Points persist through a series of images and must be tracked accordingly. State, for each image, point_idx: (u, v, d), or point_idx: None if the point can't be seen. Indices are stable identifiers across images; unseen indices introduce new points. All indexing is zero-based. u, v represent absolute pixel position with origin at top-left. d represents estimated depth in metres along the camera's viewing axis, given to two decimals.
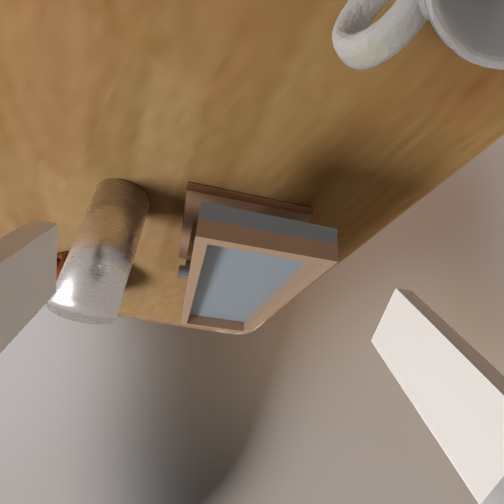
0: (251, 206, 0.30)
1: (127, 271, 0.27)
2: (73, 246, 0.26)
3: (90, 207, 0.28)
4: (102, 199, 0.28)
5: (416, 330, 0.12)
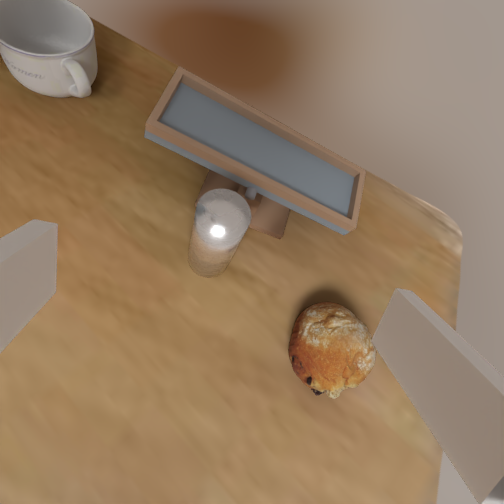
0: None
1: None
2: (195, 245, 0.33)
3: (192, 257, 0.36)
4: (189, 250, 0.37)
5: (416, 330, 0.12)
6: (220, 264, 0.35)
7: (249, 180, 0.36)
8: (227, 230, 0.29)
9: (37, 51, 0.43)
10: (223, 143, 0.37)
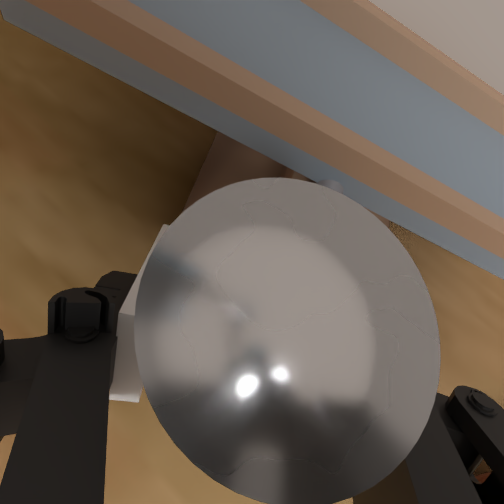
0: (221, 140, 0.20)
1: None
2: None
3: None
4: None
5: None
6: None
7: (330, 160, 0.12)
8: (332, 435, 0.05)
9: None
10: (252, 56, 0.13)
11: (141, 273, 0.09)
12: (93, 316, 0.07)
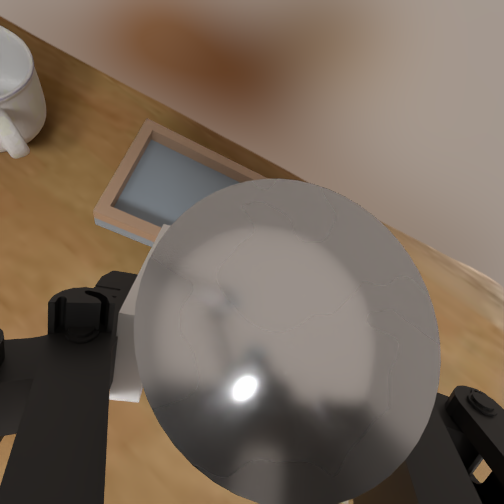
0: None
1: None
2: None
3: None
4: None
5: None
6: None
7: None
8: (332, 437, 0.05)
9: None
10: None
11: (141, 273, 0.09)
12: (93, 316, 0.07)
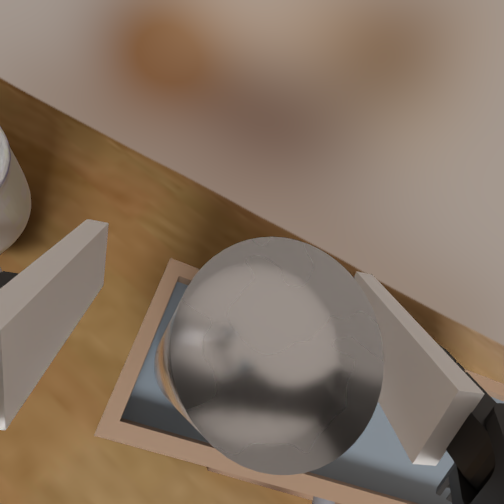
0: None
1: None
2: (170, 398, 0.10)
3: (161, 389, 0.14)
4: (155, 364, 0.15)
5: None
6: None
7: None
8: (306, 428, 0.07)
9: None
10: None
11: (21, 274, 0.08)
12: None
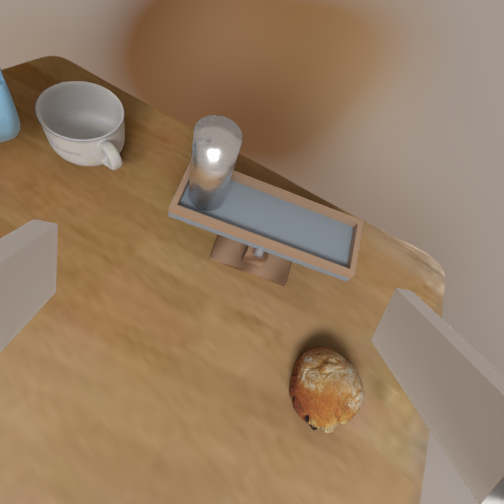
0: None
1: None
2: (194, 170, 0.37)
3: (191, 188, 0.40)
4: (189, 183, 0.41)
5: (416, 330, 0.12)
6: (216, 192, 0.39)
7: (256, 243, 0.43)
8: (221, 148, 0.33)
9: (73, 124, 0.50)
10: (233, 213, 0.44)
11: None
12: None
